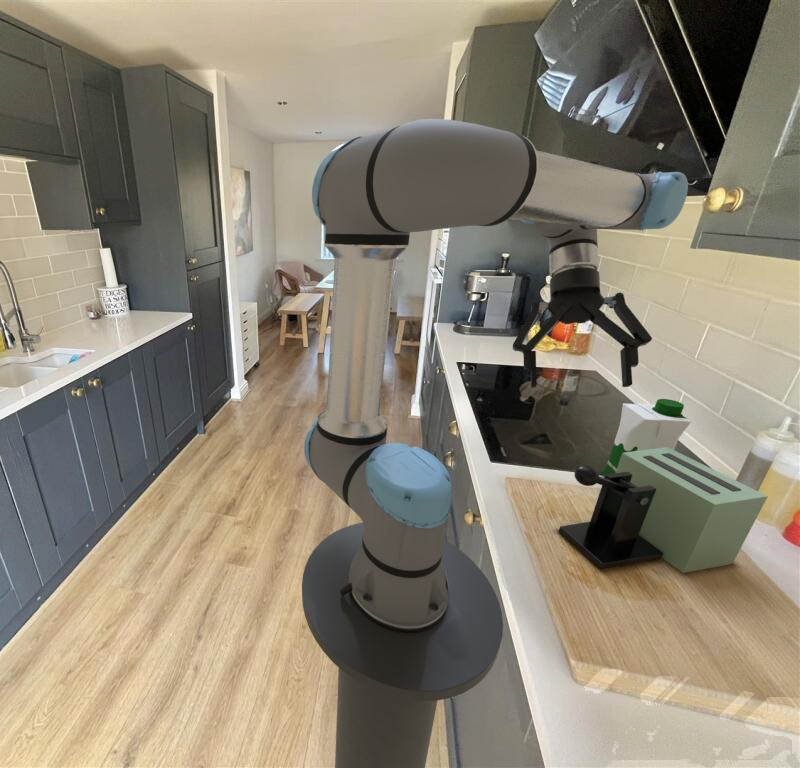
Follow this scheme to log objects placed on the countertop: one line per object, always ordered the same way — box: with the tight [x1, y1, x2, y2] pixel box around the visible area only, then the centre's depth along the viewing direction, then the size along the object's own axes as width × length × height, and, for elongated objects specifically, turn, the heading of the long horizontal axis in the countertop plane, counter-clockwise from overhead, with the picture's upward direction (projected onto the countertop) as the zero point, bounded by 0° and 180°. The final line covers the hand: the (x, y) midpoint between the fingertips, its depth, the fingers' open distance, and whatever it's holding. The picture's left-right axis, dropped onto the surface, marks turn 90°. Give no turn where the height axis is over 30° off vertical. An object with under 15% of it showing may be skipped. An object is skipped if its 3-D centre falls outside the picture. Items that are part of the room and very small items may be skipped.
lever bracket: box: [558, 472, 664, 571], centre depth 69 cm, size 12×9×14 cm
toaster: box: [616, 447, 769, 574], centre depth 70 cm, size 10×15×14 cm, turn 10°
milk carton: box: [602, 398, 692, 478], centre depth 83 cm, size 9×9×20 cm
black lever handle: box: [574, 465, 637, 498], centre depth 65 cm, size 13×3×3 cm, turn 100°
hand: (578, 386), depth 71 cm, fingers open, 13 cm apart
